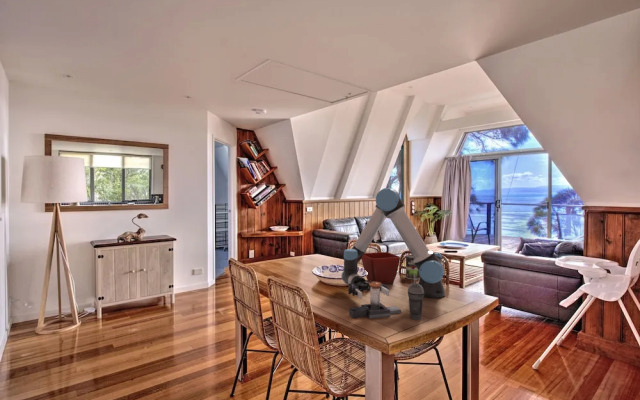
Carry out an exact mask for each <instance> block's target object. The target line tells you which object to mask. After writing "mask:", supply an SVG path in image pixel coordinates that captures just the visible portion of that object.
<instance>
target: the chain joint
mask: <svg viewBox="0 0 640 400" xmlns="http://www.w3.org/2000/svg"><path fill="white" fill-rule="evenodd" d="M401 313H402V308H401V309H400V308H399V307H398V306H395V305H394V306H386V305H384V304H383V303H381V302H380V310H371V309H370V303H365V304H361V305H360V306H357V307H356V306H355V307H354V306H353V307H349V308H348V315H349V316H350V317H351V318H352V319H359V318H369V319H378V318H379V319H380V318H388V317H389V318H390V317H391V315H394V314H401Z"/></svg>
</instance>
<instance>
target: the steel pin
mask: <svg viewBox="0 0 640 400" xmlns="http://www.w3.org/2000/svg"><path fill="white" fill-rule="evenodd" d="M368 283H369V286H370V287H369V289H370V290H369V291H370V303H369V304H370V309H371V310H380V303H381V291H380V287H381V283H380V282H370V281H369V282H368Z"/></svg>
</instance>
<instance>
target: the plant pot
mask: <svg viewBox="0 0 640 400" xmlns="http://www.w3.org/2000/svg"><path fill="white" fill-rule="evenodd" d="M400 261H401V256H400V255H396V254H393V253H391V252H389V251H384V252H383V251H382V252H365V253H364V255H363V256H362V259H361V262H362V268H363V270H366V271H367V272H368V275H367V276H366V275H365V277H366V281H369V283H370V282H380V283H381V284H382V285H387V284H394V282H395V280H396V277H397V273H398V271H399V266H400Z"/></svg>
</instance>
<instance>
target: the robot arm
mask: <svg viewBox="0 0 640 400" xmlns="http://www.w3.org/2000/svg"><path fill="white" fill-rule="evenodd" d="M375 203H376V204H375V210H374V211H373V213H372V214H371V217H370V218H369V220H368V221H367V223H366V225H365V226H364V228H363V230H362V231H361V233H360V235H359V236H358V237H357V239H356V241H355V243H354V245H353V247H352V248H347V249H344V251H343V271H342V273H341V280H342V281H343V282H344V284H347V285H348V287H347V288H348V289H347V290H348V291H347V293H348V295H351V294H352V295H351V296H353V297H355V296H356V297H358V298H359V299H360V300H361V299H363V291H370V286H369V283H370V282H367V279H365V278H364V277H363V276H361V275H360V274H358V263H359V262H360V261H362V256H363V255H364V253H366V251H367V249H368V248H369V246H370V245H371V243H372V241H373V240H374V238H375V237H376V235H377V234H378V232H379V230H380V229H381V227H382V225H383V224H384V222H385V220H386V219H390V221H391V223H392V224H393V226H394V228H395V229H396V230H397V232H398V233H399V236H400V238H401V239H402V241H403V242H404V244H405V246H406V247H407V249H408V250H409V252H410V255H413V257H414V264H415V266H416V267H417V269H418V271H419V274H420V279H419V280H418V284H420V285H421V286H422V287H423V289H424V297H423V298H430V299H434V298H438V299H439V297H440V298H443V296H444V297H445V296H446V290H445V287H444V283H443V277H444V275H445V269H444V266H443V256H442V254H441V253H440V252H435V251H433V250H431V249H429V248H428V246H427V245H426V243H425V241H424V240H423V238H422V236H421V235H420V233H419V231H418V230H417V228H416V227H415V225H414V223H413V222H412V221H411V219H410V218H409V216H408V214H407V212H406V211H405V208H406V205H405V204H404V202H403V200H402V198H401V196H400V194H399V192H398V191H397V190H396V189H394V188H392V187H384V188H382V189H381V190H379V191H378V192H377V193H376V195H375ZM380 293H382V294H384V295H385V296H387V297H389V296H390V290H389V289H388V285H387V284H381V287H380Z"/></svg>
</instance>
